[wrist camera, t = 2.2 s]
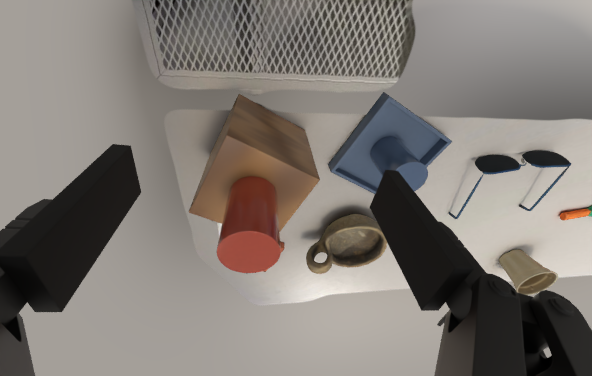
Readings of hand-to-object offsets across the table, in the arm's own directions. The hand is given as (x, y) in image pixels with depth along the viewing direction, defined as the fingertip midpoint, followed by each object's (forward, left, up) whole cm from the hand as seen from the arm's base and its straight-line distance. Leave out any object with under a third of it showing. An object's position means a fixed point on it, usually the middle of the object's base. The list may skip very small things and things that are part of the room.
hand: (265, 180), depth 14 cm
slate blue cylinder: (+25, -1, -28) cm, 38 cm away
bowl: (+30, -21, -29) cm, 47 cm away
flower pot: (+79, -8, -29) cm, 85 cm away
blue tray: (+25, -1, -29) cm, 38 cm away
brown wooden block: (+4, -11, -29) cm, 31 cm away
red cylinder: (+4, -11, -14) cm, 18 cm away
